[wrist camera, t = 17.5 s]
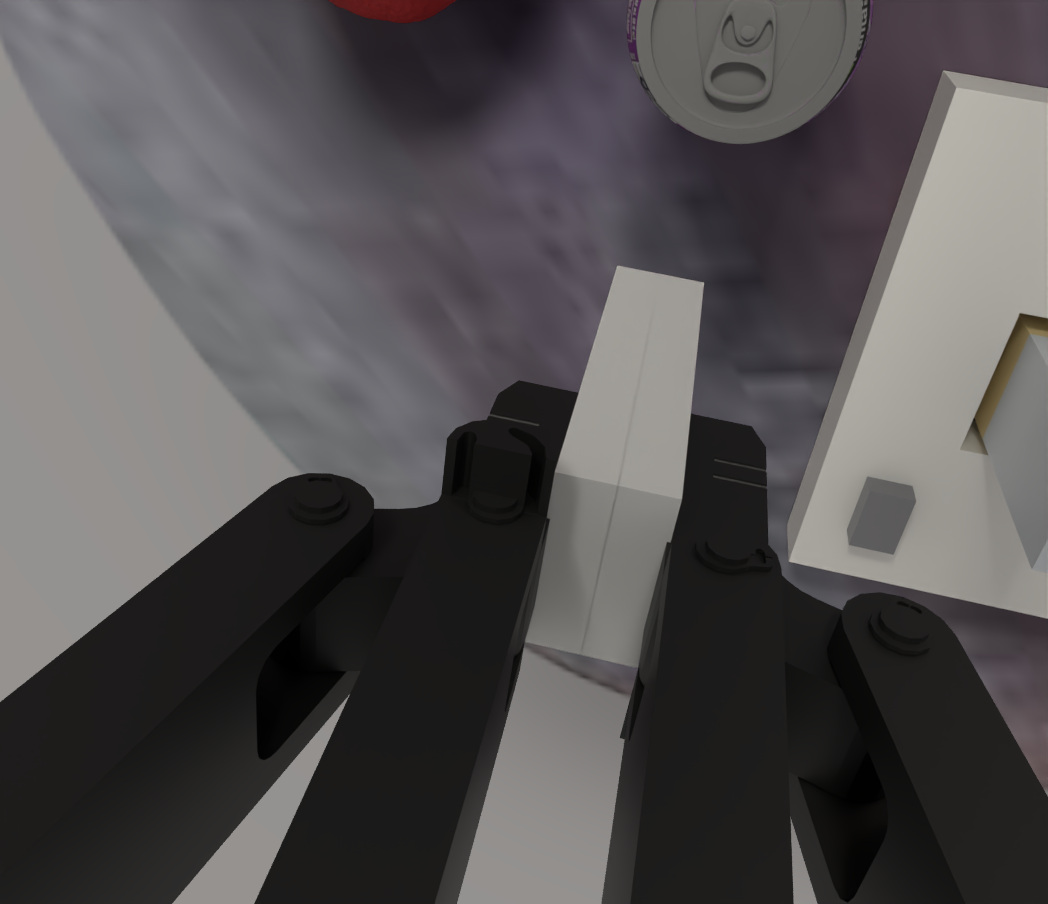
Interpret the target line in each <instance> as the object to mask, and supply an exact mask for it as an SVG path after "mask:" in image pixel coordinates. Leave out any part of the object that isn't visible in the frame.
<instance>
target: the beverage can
mask: <svg viewBox="0 0 1048 904" xmlns="http://www.w3.org/2000/svg"><path fill="white" fill-rule="evenodd" d="M872 15H873V0H629V4H628V12H627V39H628V47H629V51H630V56H631V60H632V63H633V66H634V69H635V72H636V74H637V77H638V79H639V81H640V83H641V85H642V87H643V88H644V90H645V92H646V93H647V95H648V96H649V98H650V99H651V100H652V102H653V103H654V104H655V105H656V106H657V108H658V109H659V110H660V111H661V112H662V113H663V114H664V115H665V116H667V117H668V118H669V119H670V120H671V121H673V122H674V123H675V124H677V125H678V126H680V127H682V128H683V129H685V130H687V131H689V132H691V133H693V134H695V135H697V136H700V137H703V138H706V139H709V140H713V141H716V142H722V143H729V144H751V143H758V142H763V141H767V140H771V139H774V138H777V137H780V136H782V135H785V134H787V133H789V132H792V131H794V130H796V129H798V128H799V127H801V126H803V125H805V124H806V123H808V122H809V121H811V120H812V119H814V118H815V117H816V116H818V115H819V114H820V113H821V112H823V111H824V110H825V109H826V108H827V107H828V106H829V105H830V104H831V103H832V102H833V101H834V100H835V99H836V98H837V97H838V95H839V94H840V93H841V92H842V91H843V89H844V88H845V87H846V85H847V84H848V82H849V81H850V79H851V78H852V76H853V74H854V72H855V71H856V69H857V67H858V65H859V63H860V61H861V58H862V56H863V53H864V51H865V48H866V45H867V41H868V38H869V34H870V29H871V23H872Z"/></svg>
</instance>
